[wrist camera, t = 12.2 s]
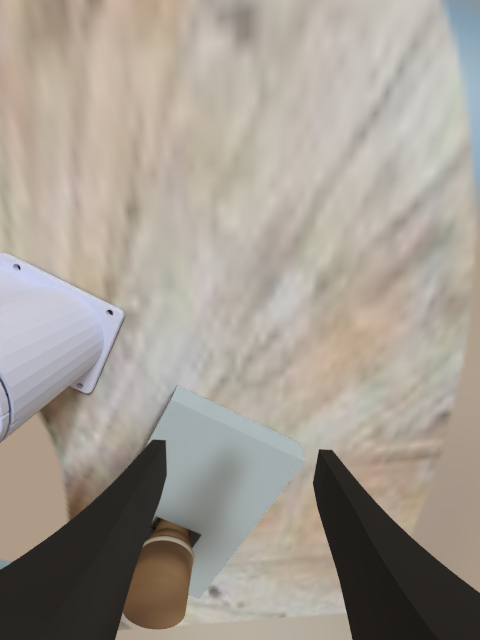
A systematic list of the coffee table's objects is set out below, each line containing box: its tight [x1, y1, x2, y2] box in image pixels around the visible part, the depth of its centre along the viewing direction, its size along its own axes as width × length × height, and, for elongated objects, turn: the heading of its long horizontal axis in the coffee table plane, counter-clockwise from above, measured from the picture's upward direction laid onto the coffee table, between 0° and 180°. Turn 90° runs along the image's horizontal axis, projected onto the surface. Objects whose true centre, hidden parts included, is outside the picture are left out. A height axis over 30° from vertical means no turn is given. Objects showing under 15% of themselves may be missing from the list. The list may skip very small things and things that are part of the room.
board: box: [144, 386, 305, 598], centre depth 24 cm, size 12×20×2 cm, turn 152°
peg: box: [123, 518, 194, 629], centre depth 23 cm, size 5×5×7 cm
